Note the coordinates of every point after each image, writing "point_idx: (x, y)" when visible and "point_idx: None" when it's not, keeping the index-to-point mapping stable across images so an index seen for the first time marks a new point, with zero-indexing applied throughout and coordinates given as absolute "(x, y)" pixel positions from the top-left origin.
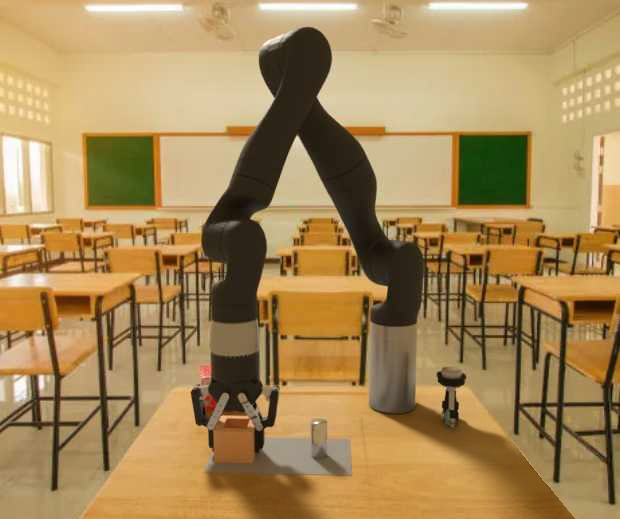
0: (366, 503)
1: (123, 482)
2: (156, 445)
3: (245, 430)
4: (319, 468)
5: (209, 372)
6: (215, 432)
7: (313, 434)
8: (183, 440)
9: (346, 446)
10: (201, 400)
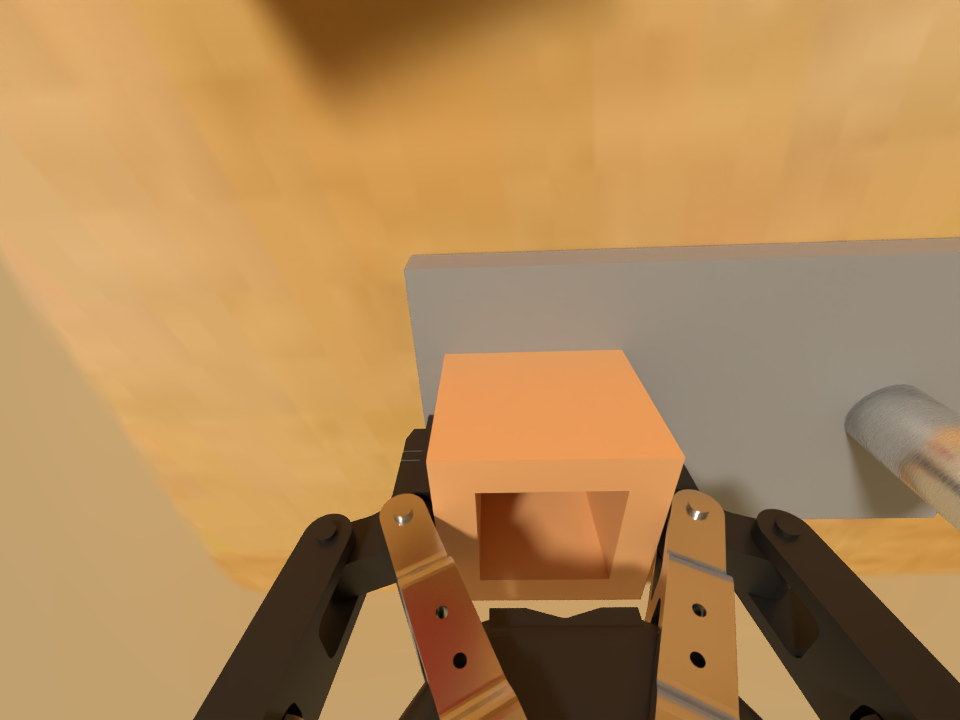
0: (893, 549)
1: (213, 509)
2: (111, 281)
3: (604, 590)
4: (840, 490)
5: None
6: None
7: (949, 522)
8: (201, 215)
9: None
10: (289, 700)
